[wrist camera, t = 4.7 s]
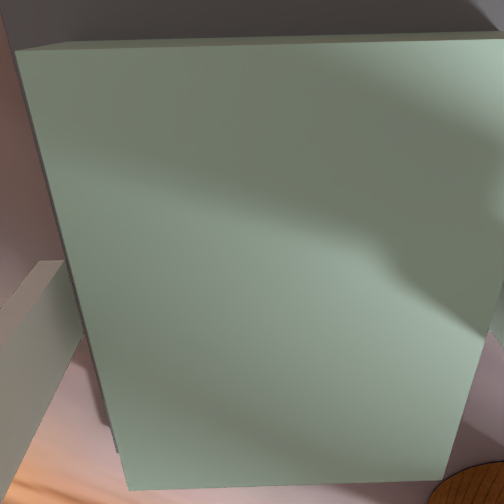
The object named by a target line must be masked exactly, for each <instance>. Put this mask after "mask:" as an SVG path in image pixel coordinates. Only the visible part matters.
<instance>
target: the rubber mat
mask: <svg viewBox="0 0 504 504" xmlns="http://www.w3.org/2000/svg"><path fill="white" fill-rule="evenodd" d="M0 11H1V15H2V19H3V23H4V26H5V30H6V34H7V38H8V42H9V45H10V49H11V53H12V57H13V61H14V64H15V68H16V72H17V76H18V79H19V83H20V87H21V91H22V95H23V98H24V102H25V106H26V110H27V114H28V117H29V121H30V125H31V129H32V133H33V136H34V140H35V144H36V148H37V152H38V155H39V159H40V163H41V167H42V171H43V174H44V178H45V182H46V186H47V190H48V193H49V197H50V201H51V205H52V209H53V212H54V216H55V220H56V224H57V228H58V231H59V235H60V239H61V243H62V247H63V250H64V254H65V258H66V262H67V266H68V269H69V273H70V277H71V281H72V285H73V288H74V292H75V296H76V300H77V303H78V307H79V311H80V315H81V319H82V322H83V326H84V330H85V334H86V338H87V341H88V345H89V349H90V353H91V357H92V360H93V364H94V368H95V372H96V376H97V379H98V383H99V387H100V391H101V395H102V398H103V402H104V406H105V410H106V414H107V417H108V421H109V425H110V429H111V433H112V436H113V440H114V444H115V448H116V452H117V453H119V451H118V447H117V444H116V440H115V436H114V432H113V428H112V424H111V420H110V417H109V413H108V409H107V405H106V401H105V397H104V394H103V390H102V386H101V382H100V378H99V374H98V370H97V367H96V363H95V359H94V355H93V351H92V347H91V344H90V340H89V336H88V332H87V328H86V324H85V320H84V317H83V313H82V309H81V305H80V301H79V297H78V294H77V290H76V286H75V282H74V278H73V274H72V270H71V267H70V263H69V259H68V255H67V251H66V247H65V243H64V240H63V236H62V232H61V228H60V224H59V220H58V217H57V213H56V209H55V205H54V201H53V197H52V193H51V190H50V186H49V182H48V178H47V174H46V170H45V167H44V163H43V159H42V155H41V151H40V147H39V143H38V140H37V136H36V132H35V128H34V124H33V120H32V116H31V113H30V109H29V105H28V101H27V97H26V93H25V90H24V86H23V82H22V78H21V74H20V70H19V66H18V63H17V59H16V55H15V51H17V50H23V49H29V48H34V47H40V46H45V45H51V44H56V43H62V42H67V41H103V40H144V39H185V38H225V37H266V36H307V35H348V34H389V33H430V32H471V31H504V0H0Z"/></svg>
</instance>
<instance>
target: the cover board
mask: <svg viewBox="0 0 504 504" xmlns="http://www.w3.org/2000/svg"><path fill="white" fill-rule="evenodd" d="M15 55H16V59H17V63H18V66H19V70H20V74H21V78H22V82H23V86H24V90H25V93H26V97H27V101H28V105H29V109H30V113H31V116H32V120H33V124H34V128H35V132H36V136H37V140H38V143H39V147H40V151H41V155H42V159H43V163H44V167H45V170H46V174H47V178H48V182H49V186H50V190H51V193H52V197H53V201H54V205H55V209H56V213H57V217H58V220H59V224H60V228H61V232H62V236H63V240H64V243H65V247H66V251H67V255H68V259H69V263H70V267H71V270H72V274H73V278H74V282H75V286H76V290H77V294H78V297H79V301H80V305H81V309H82V313H83V317H84V320H85V324H86V328H87V332H88V336H89V340H90V344H91V347H92V351H93V355H94V359H95V363H96V367H97V370H98V374H99V378H100V382H101V386H102V390H103V394H104V397H105V401H106V405H107V409H108V413H109V417H110V420H111V424H112V428H113V432H114V436H115V440H116V444H117V447H118V451H119V455H120V459H121V463H122V467H123V471H124V474H125V478H126V482H127V486H128V490H129V491H137V490H167V489H196V488H226V487H256V486H286V485H315V484H345V483H375V482H404V481H434V480H442V479H443V476H444V473H445V469H446V466H447V463H448V460H449V456H450V453H451V450H452V447H453V443H454V440H455V437H456V434H457V430H458V427H459V424H460V421H461V417H462V414H463V411H464V408H465V404H466V401H467V398H468V395H469V391H470V388H471V385H472V382H473V378H474V375H475V372H476V369H477V365H478V362H479V359H480V356H481V352H482V349H483V346H484V343H485V339H486V336H487V333H488V330H489V326H490V323H491V320H492V316H493V313H494V310H495V307H496V303H497V300H498V297H499V294H500V290H501V287H502V284H503V281H504V31H471V32H430V33H389V34H348V35H307V36H266V37H225V38H185V39H144V40H103V41H67V42H62V43H56V44H51V45H45V46H40V47H34V48H29V49H23V50H17V51H15Z"/></svg>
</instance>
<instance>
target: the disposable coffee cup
mask: <svg viewBox="0 0 504 504" xmlns="http://www.w3.org/2000/svg"><path fill="white" fill-rule="evenodd" d="M427 504H504V462H497V463H490V464H484V465H480V466H476V467H472V468H470V469H467V470H464V471H462V472H460V473H458V474H456V475H454V476H452V477H451V478H449V479H447V480H446V481H444V482H443V483H442V484H440V485H439V487H438V488H437V489H436V490H435V491H434V492H433V493H432V495H431V496H430V498H429V500H428V503H427Z"/></svg>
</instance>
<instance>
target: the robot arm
mask: <svg viewBox="0 0 504 504" xmlns="http://www.w3.org/2000/svg"><path fill="white" fill-rule="evenodd" d="M489 330H490V331H491V332H492V334H493V335H494V336H495V338H496V339H497V340H498V341H499V343H500V344H501V345H502V347H503V348H504V281H503V284H502V287H501V290H500V294H499V297H498V300H497V303H496V307H495V310H494V313H493V316H492V320H491V323H490V326H489ZM83 334H84V330H83V326H82V322H81V319H80V315H79V311H78V307H77V304H76V300H75V296H74V292H73V288H72V285H71V281H70V277H69V273H68V270H67V266H66V262H65V260H45V261H38V263H37V264H36V265H35V266H34V268H33V269H32V270H31V271H30V273H29V274H28V275H27V276H26V278H25V279H24V280H23V281H22V283H21V284H20V285H19V286H18V287H17V289H16V290H15V291H14V292H13V294H12V295H11V296H10V297H9V299H8V300H7V301H6V302H5V304H4V305H3V306H2V307H1V309H0V504H1V503H2V501H3V499H4V497H5V494H6V492H7V490H8V488H9V486H10V484H11V482H12V480H13V478H14V476H15V474H16V472H17V470H18V468H19V466H20V464H21V462H22V460H23V457H24V455H25V453H26V451H27V449H28V447H29V445H30V443H31V441H32V439H33V437H34V435H35V433H36V431H37V429H38V427H39V425H40V423H41V420H42V418H43V416H44V414H45V412H46V410H47V408H48V406H49V404H50V402H51V400H52V398H53V396H54V394H55V392H56V390H57V388H58V386H59V383H60V381H61V379H62V377H63V375H64V373H65V371H66V369H67V367H68V365H69V363H70V361H71V359H72V357H73V355H74V353H75V351H76V349H77V346H78V344H79V342H80V340H81V338H82V336H83Z"/></svg>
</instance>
